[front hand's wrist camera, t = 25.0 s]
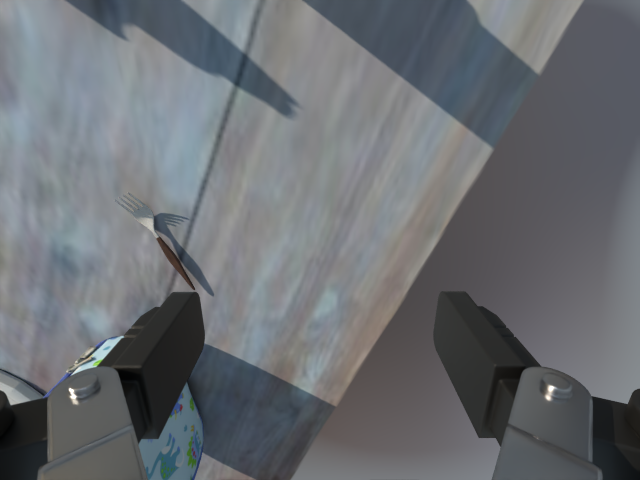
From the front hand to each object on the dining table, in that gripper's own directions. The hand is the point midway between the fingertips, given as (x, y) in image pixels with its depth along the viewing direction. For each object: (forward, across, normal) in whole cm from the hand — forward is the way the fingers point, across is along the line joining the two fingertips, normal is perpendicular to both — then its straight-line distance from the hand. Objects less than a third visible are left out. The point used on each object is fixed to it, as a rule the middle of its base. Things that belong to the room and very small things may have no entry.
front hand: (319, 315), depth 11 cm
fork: (+34, -22, -11) cm, 42 cm away
